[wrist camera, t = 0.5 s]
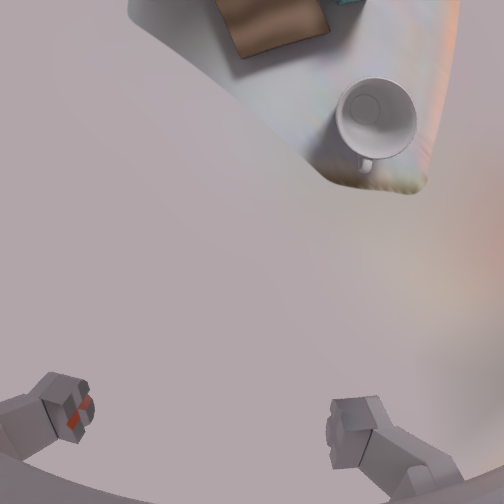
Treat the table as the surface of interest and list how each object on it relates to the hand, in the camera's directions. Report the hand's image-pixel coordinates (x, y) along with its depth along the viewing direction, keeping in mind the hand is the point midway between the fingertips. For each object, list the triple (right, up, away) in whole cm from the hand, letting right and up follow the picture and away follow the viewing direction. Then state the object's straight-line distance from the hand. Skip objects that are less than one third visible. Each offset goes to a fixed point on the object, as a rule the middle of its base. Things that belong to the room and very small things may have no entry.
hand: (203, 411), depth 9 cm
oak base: (+4, +43, +30) cm, 53 cm away
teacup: (+20, +27, +39) cm, 51 cm away
